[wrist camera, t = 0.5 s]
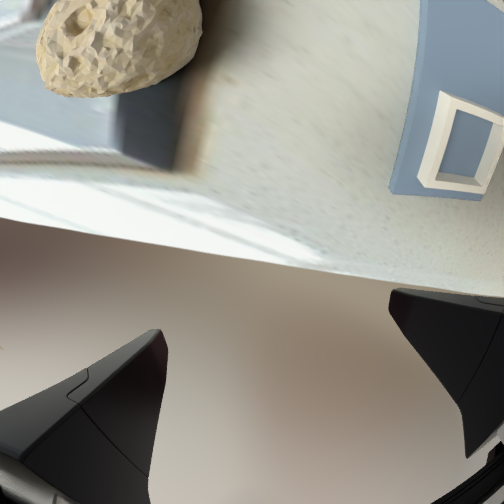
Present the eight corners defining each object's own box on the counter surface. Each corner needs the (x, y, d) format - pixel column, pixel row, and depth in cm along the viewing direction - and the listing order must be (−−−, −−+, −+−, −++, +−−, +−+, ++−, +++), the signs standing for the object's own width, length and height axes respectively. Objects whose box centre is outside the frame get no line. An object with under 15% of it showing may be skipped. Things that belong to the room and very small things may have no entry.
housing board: (420, -32, 7) (439, -34, 5) (519, 28, 7) (537, 35, 5) (388, 187, 22) (399, 205, 20) (475, 195, 22) (487, 210, 20)
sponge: (113, 0, 12) (4, 67, 8) (182, -73, 6) (15, -26, 2) (169, 75, 18) (74, 155, 14) (259, 28, 12) (121, 114, 8)
